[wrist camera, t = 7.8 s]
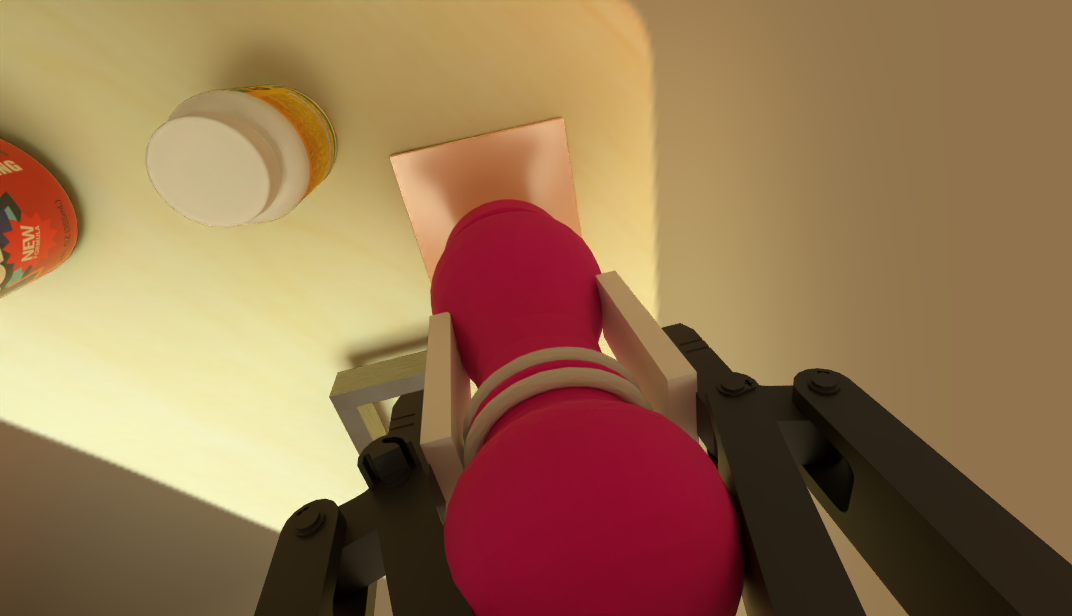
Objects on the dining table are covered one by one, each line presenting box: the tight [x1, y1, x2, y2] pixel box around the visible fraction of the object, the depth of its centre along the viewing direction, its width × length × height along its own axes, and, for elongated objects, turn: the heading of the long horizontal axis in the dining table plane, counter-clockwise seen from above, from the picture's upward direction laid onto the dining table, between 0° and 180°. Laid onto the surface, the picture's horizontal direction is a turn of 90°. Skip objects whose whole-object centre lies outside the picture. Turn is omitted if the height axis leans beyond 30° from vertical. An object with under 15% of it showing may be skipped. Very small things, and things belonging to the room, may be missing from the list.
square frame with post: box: [329, 350, 447, 511], centre depth 33 cm, size 18×12×9 cm
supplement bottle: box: [146, 85, 337, 227], centre depth 21 cm, size 5×5×10 cm
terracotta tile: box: [389, 117, 581, 283], centre depth 29 cm, size 10×10×1 cm
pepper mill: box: [430, 199, 745, 616], centre depth 15 cm, size 7×7×20 cm
